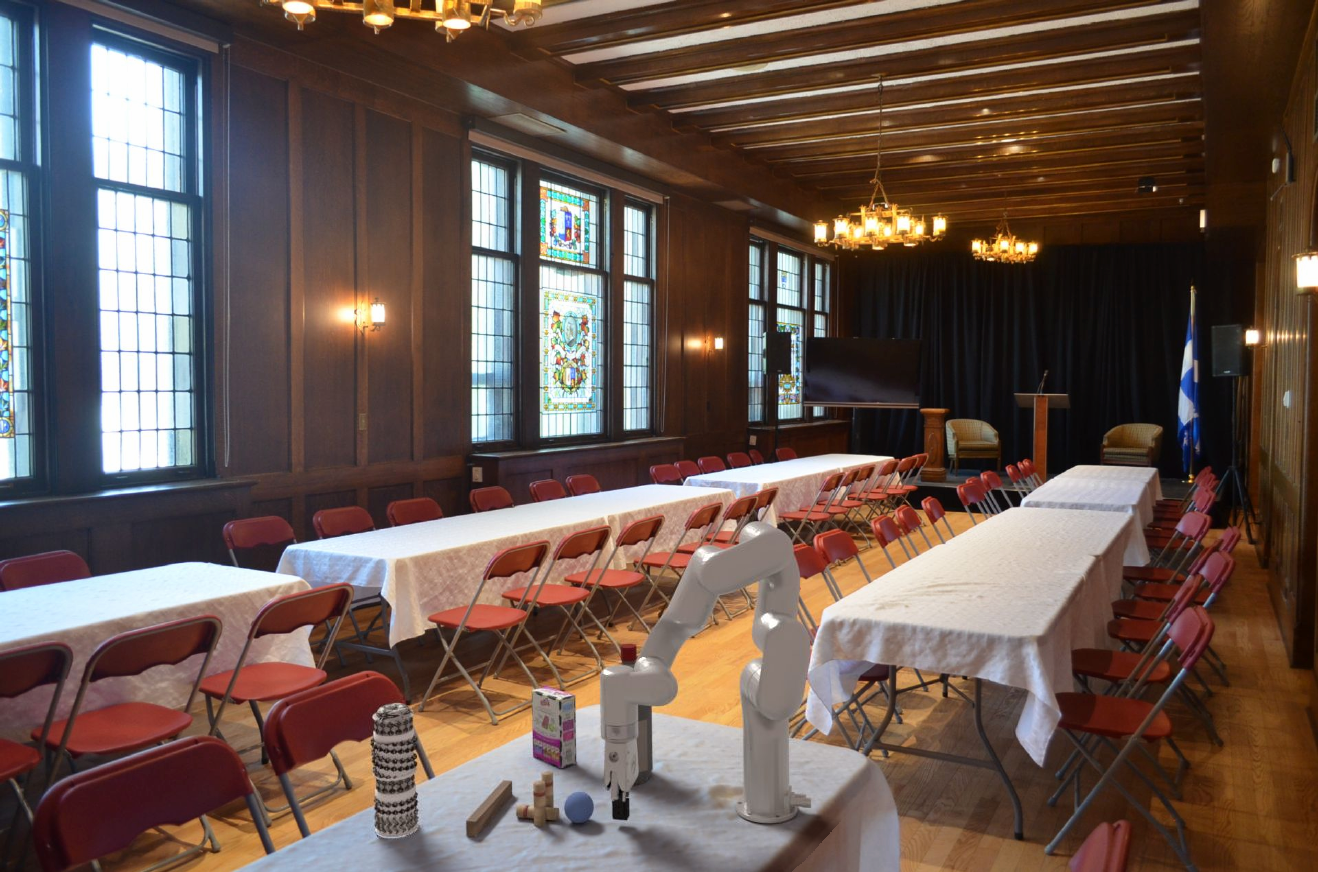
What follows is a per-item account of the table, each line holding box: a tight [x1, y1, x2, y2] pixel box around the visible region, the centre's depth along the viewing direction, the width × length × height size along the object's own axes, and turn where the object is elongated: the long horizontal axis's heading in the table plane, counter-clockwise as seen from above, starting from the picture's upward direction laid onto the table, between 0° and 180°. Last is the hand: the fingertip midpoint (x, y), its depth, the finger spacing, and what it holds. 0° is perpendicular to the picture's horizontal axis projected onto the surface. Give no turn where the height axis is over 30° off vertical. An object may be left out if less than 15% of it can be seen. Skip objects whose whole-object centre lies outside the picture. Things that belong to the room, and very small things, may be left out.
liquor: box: [620, 643, 654, 786], centre depth 220 cm, size 9×9×30 cm
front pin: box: [515, 804, 560, 821], centre depth 200 cm, size 2×2×8 cm
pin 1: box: [532, 780, 547, 828], centre depth 198 cm, size 2×2×8 cm
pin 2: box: [540, 770, 555, 808], centre depth 202 cm, size 2×2×8 cm
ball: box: [563, 791, 595, 824], centre depth 198 cm, size 6×6×6 cm
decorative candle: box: [370, 702, 420, 837], centre depth 196 cm, size 9×9×25 cm
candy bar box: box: [531, 685, 577, 769], centre depth 231 cm, size 11×5×16 cm, turn 45°
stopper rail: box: [465, 779, 513, 837], centre depth 203 cm, size 2×20×3 cm, turn 168°
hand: (620, 817), depth 197 cm, fingers closed
